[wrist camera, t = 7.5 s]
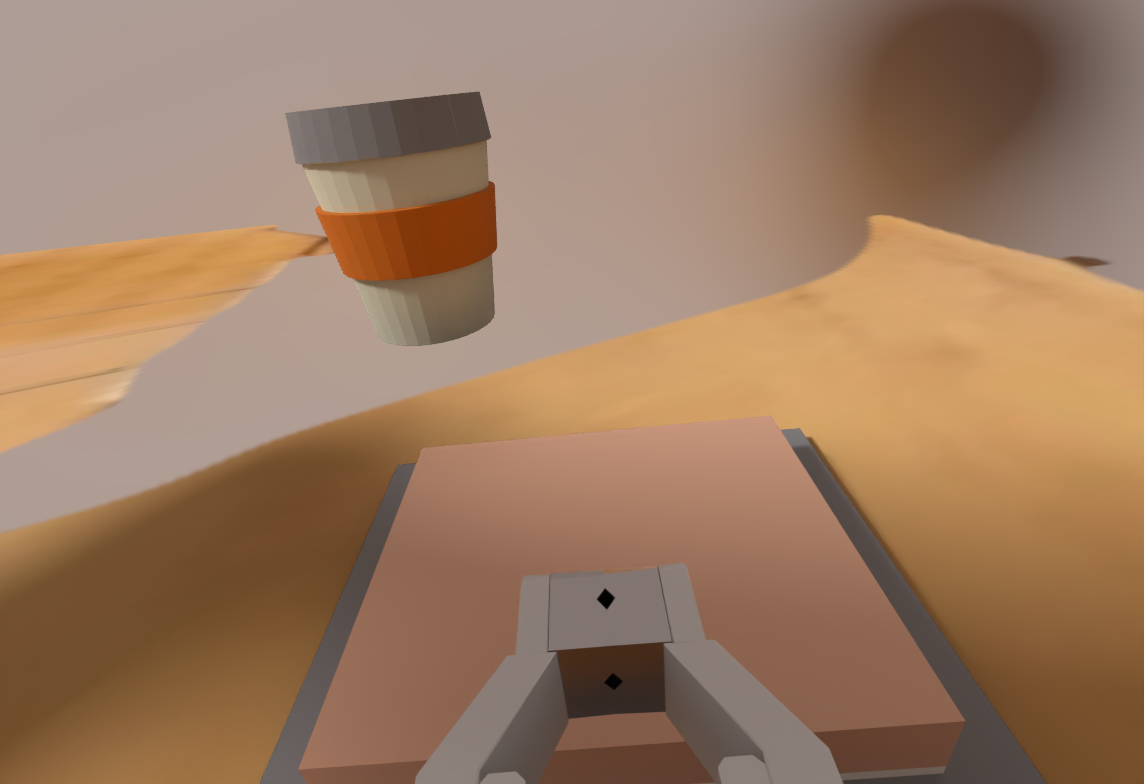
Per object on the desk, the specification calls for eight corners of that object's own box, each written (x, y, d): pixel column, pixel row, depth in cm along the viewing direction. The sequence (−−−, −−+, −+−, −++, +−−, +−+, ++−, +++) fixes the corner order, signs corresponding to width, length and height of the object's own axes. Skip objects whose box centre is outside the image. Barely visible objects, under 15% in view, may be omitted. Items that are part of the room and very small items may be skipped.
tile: (965, 720, 11) (771, 415, 22) (297, 769, 12) (422, 447, 22) (943, 773, 12) (767, 456, 23) (327, 816, 13) (433, 486, 23)
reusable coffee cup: (387, 299, 49) (335, 108, 41) (528, 288, 47) (499, 89, 40) (322, 362, 38) (235, 118, 30) (502, 351, 36) (457, 93, 29)
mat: (1289, 1173, 8) (1312, 1165, 8) (90, 1227, 9) (69, 1221, 8) (798, 439, 25) (799, 428, 24) (401, 475, 25) (397, 465, 25)
